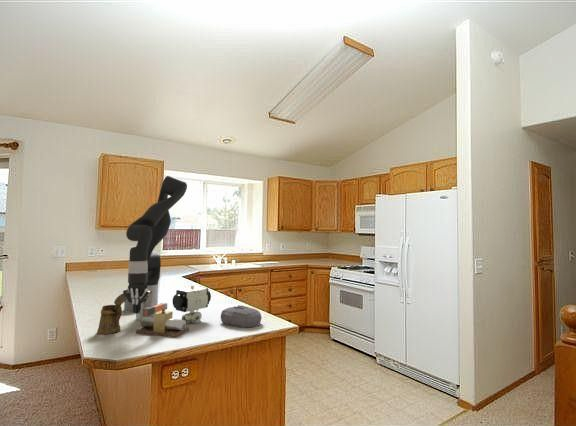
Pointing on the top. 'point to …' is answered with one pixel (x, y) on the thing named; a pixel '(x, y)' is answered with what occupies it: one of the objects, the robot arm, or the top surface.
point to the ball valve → (191, 302)
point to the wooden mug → (111, 317)
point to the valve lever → (154, 309)
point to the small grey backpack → (241, 316)
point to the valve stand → (162, 325)
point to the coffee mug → (128, 306)
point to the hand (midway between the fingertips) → (136, 312)
